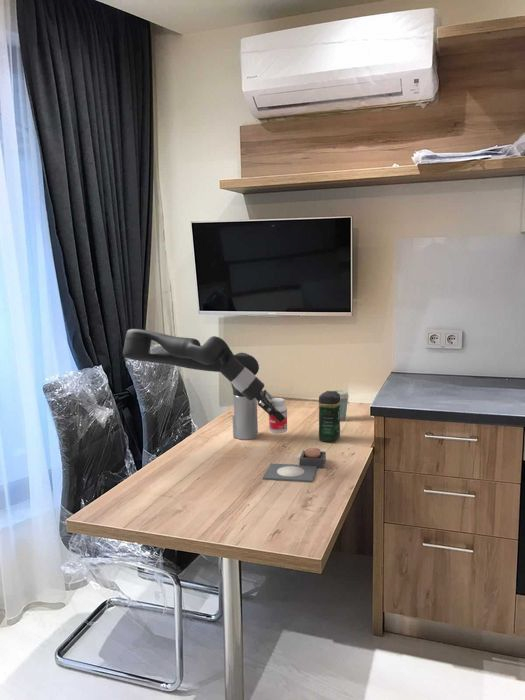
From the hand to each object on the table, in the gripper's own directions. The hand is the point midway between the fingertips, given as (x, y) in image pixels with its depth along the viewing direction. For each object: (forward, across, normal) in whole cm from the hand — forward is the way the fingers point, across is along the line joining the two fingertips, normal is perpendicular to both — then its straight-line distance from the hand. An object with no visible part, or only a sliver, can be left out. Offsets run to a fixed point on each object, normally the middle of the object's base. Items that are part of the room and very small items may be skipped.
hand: (283, 417), depth 199 cm
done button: (+17, +1, -3) cm, 17 cm away
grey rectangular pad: (+13, +10, -10) cm, 19 cm away
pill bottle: (+2, 0, -5) cm, 5 cm away
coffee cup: (+28, -52, +4) cm, 59 cm away
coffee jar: (+24, -25, +1) cm, 35 cm away
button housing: (+19, +1, -4) cm, 19 cm away
